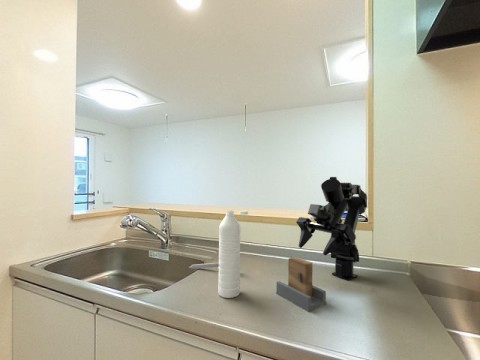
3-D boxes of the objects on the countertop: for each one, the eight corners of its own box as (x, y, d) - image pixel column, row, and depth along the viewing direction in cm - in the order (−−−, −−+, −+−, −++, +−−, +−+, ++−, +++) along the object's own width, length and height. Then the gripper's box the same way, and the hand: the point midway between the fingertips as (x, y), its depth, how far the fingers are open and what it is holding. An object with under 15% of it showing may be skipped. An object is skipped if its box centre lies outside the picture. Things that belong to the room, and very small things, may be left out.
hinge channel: (293, 287, 75) (293, 276, 75) (325, 303, 65) (325, 291, 65) (276, 293, 71) (276, 281, 71) (307, 311, 61) (308, 298, 61)
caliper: (239, 274, 87) (239, 257, 87) (238, 275, 86) (238, 257, 86) (189, 267, 93) (190, 251, 93) (188, 268, 92) (188, 252, 92)
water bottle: (215, 297, 68) (216, 211, 69) (221, 287, 74) (222, 209, 75) (245, 300, 67) (246, 212, 67) (248, 290, 73) (249, 209, 73)
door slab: (295, 289, 72) (295, 256, 72) (312, 298, 66) (312, 262, 66) (286, 292, 70) (287, 258, 70) (303, 301, 64) (303, 264, 64)
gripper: (300, 194, 82) (276, 228, 76) (350, 196, 67) (325, 240, 60) (314, 215, 86) (293, 249, 80) (365, 222, 71) (343, 265, 64)
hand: (311, 250), depth 71 cm, fingers open, 9 cm apart
